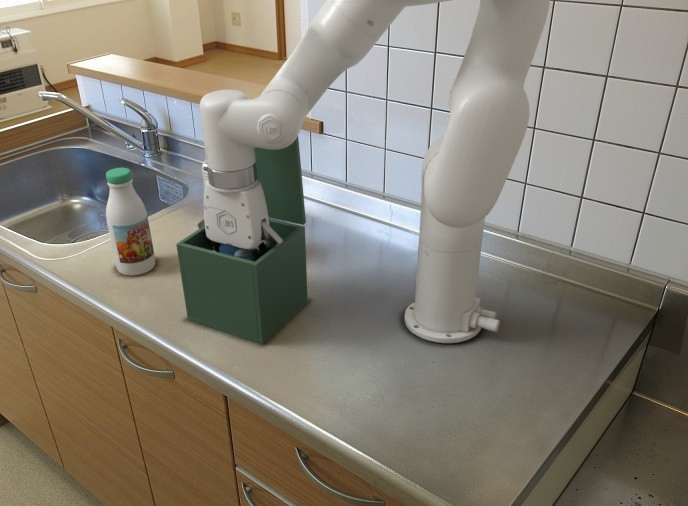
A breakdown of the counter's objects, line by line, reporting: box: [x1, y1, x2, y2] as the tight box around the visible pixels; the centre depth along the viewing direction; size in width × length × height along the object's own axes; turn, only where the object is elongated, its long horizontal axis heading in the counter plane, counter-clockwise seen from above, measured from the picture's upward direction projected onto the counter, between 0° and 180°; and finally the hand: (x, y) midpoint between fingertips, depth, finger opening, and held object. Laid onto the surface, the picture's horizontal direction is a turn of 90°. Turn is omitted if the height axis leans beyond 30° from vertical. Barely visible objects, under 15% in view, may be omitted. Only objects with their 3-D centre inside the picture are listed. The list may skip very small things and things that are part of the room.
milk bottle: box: [105, 167, 156, 276], centre depth 128 cm, size 8×8×20 cm
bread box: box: [175, 218, 309, 345], centre depth 113 cm, size 15×16×15 cm
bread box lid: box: [255, 135, 307, 226], centre depth 110 cm, size 15×16×1 cm
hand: (243, 273), depth 112 cm, fingers closed on soda can, 7 cm apart
